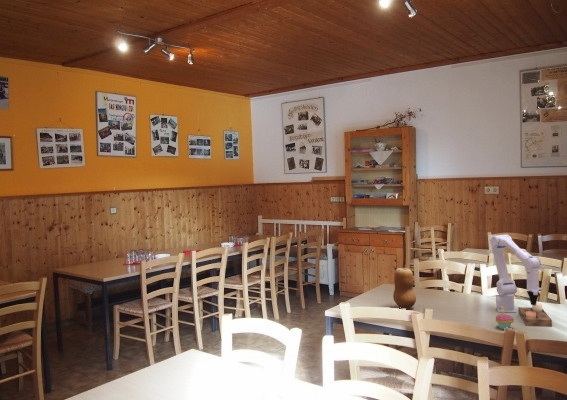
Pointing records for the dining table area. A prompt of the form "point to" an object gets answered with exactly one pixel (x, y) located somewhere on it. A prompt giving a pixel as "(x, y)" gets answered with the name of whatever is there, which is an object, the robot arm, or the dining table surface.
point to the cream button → (537, 307)
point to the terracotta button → (531, 314)
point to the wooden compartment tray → (540, 319)
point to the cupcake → (504, 320)
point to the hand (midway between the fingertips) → (533, 304)
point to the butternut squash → (404, 288)
